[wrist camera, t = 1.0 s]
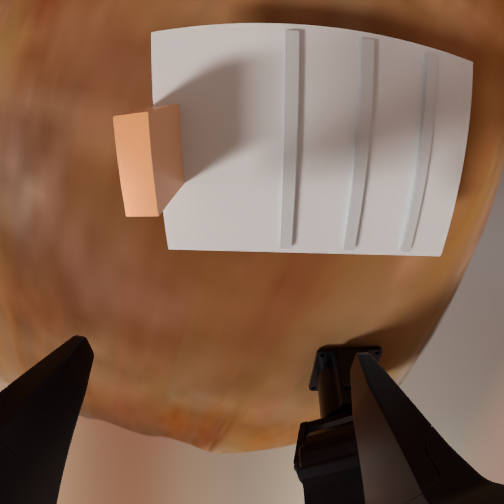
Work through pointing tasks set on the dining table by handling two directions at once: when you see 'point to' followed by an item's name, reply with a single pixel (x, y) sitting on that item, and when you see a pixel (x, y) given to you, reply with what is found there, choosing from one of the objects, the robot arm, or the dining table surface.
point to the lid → (297, 140)
